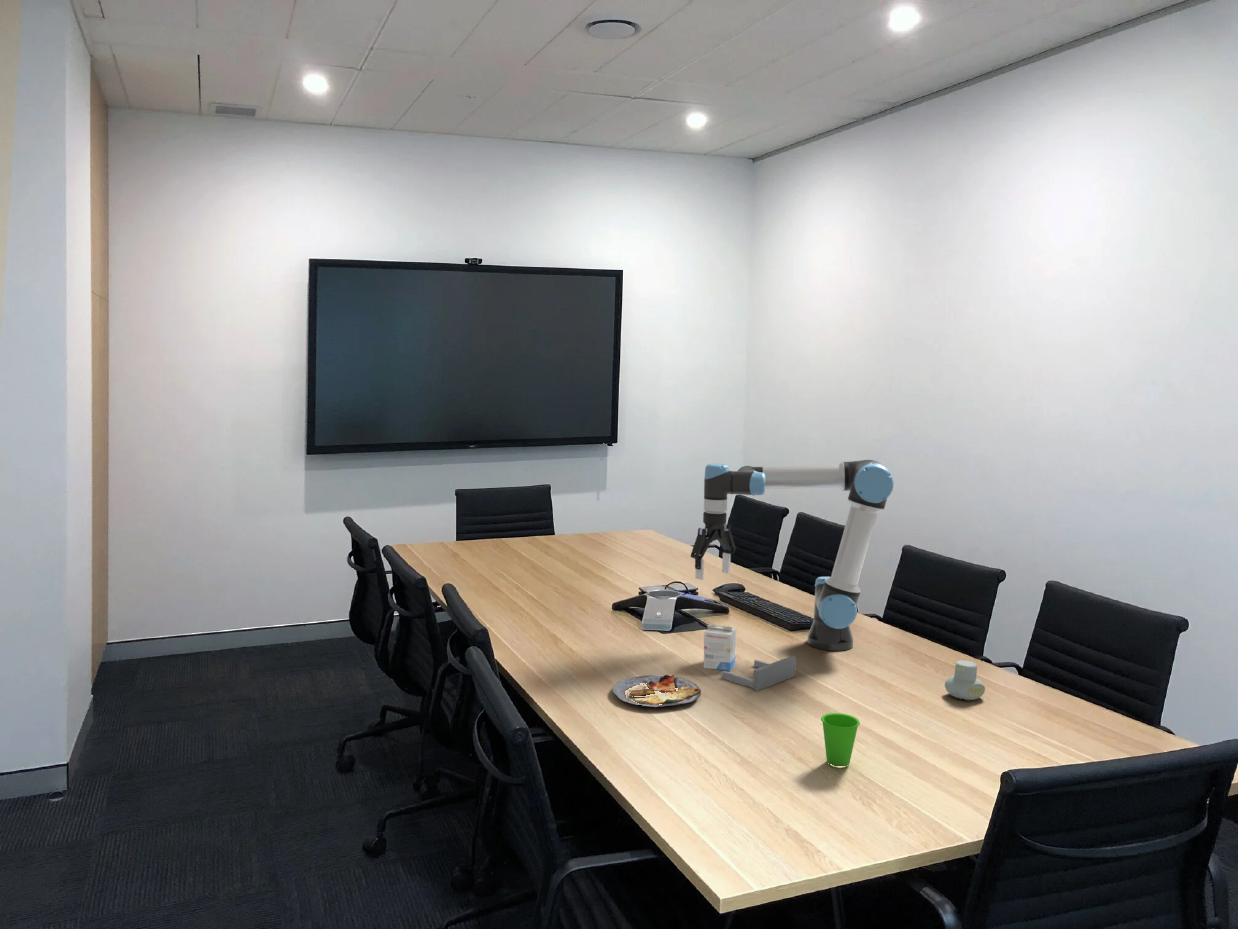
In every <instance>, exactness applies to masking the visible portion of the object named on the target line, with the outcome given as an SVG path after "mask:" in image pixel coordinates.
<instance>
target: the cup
mask: <svg viewBox="0 0 1238 929" xmlns="http://www.w3.org/2000/svg"><path fill="white" fill-rule="evenodd" d="M820 720H821V722H822V729H823V738H824V747H825V756H826V757H825V758H826V762H827V764H828V763H829V764H832V765H834V766H847V765H848V766H849V765H850V762H851V758H852V753H853V749H854V744H855V740H856V735H857V731H858V726H859V725H860V724H861V723H860V722H861V721H860V719H858V718H857V717H855V716H853V715H851V714H847V713H841V712H830V713H829V712H828V713H825V714H823V715H822V716H821V718H820ZM829 764H828V765H829Z"/></svg>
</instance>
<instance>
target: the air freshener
mask: <svg viewBox="0 0 1238 929" xmlns="http://www.w3.org/2000/svg"><path fill="white" fill-rule="evenodd" d="M954 667H955V668H954V674H953V675H951V676H949V677H947V679H946V680H945V681H944V688H945V691H946V692H947V693H948V694H950V695H951V696H952V697H953V698H956V699H958V698H959V700H962V699H964V700H963V701H968V700H972V701H974V700H977V699H980V698H981V697H982V696H983V695H984V694H985V692H986V686H985V684H984V683H983V681H981V679H979V678H977V675H978V674H977V673H978V665H977V664H976V663H975V662H973V661H971V660H969V661H968V660H957V661H956V662H955V665H954Z"/></svg>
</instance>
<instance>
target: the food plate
mask: <svg viewBox="0 0 1238 929" xmlns="http://www.w3.org/2000/svg"><path fill="white" fill-rule="evenodd" d="M640 683H645V684H646V683H647V684H646V685H647V687H648V688H649V689H645V688H643V689H641V688H640V689H635V690H630V692H631V693H630V692H629V694H631V696H633V697H634V696H646V695H650V694H655V692H654V691H659V692H661V693H665V692H666V693H665V694H661V695H654V696H650V697H645V698H632V699H630V697H628V698H626V695H625V691H626V690H628V689H629V688H632V687H633V686H636V685H640ZM643 685H644V684H643ZM675 688H678V691H676V689H675ZM701 690H702V689H701V688H700V687H699V686H698V685H697V683H695V682H693V681H691V680H689V679H685V678H682V677H679V676H675V674H672V675H669V674H664V675H659V674H658V675H656V674H652V675H651V674H650V675H642V676H633V677H627V678H624V679H620V681H617V682H616V683H615V684H614V686H613V687H612V692H613V694H615V696H616V697H617V698H618V699H619V700H621V701H623V702H625V703H629V704H631V705H635V706H638V705H642V706H641V707H652V708H653V707H654V708H657V707H665V706H666V707H667V706H677V705H681V704H682V705H683V704H688V703H693V702H695V701H697V699H698V698H700V697H701V695H702V691H701ZM629 699H630V700H629ZM632 700H633V701H635V702H633V701H632ZM636 702H637V703H636ZM638 703H639V704H638ZM659 704H662V705H659Z"/></svg>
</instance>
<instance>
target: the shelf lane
mask: <svg viewBox="0 0 1238 929" xmlns="http://www.w3.org/2000/svg"><path fill="white" fill-rule="evenodd" d="M753 660H754V661H753V667H755V669H753V679H751V678H748V677H744V676H742V675H739V674H736V673H732V672H731V671H726V670H721V678H722V679H723V680H728V681H729V682H732V683H733V682H734V683H735V684H739V683H740V685H743V686H745V685H746V687H748V686H749V688H752V690H753V691H756V692H758V691H761V690H763V689H766V688H768V686H769V687H771V686H773V685H776V684H779V683H782V682H783V680H784V681H787V680H788V679H787V678H789V679H791V678H790V677H792V678H794V676H795V677H796V664H797V657H796V656H793V655H791V656H788V657H785V658H782V659H780V660H777V661H774V662H771V663H769V662H767V661H762V660H759V659H753ZM786 679H787V680H786ZM781 681H782V682H781ZM778 682H779V683H778ZM775 683H776V684H775Z"/></svg>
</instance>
